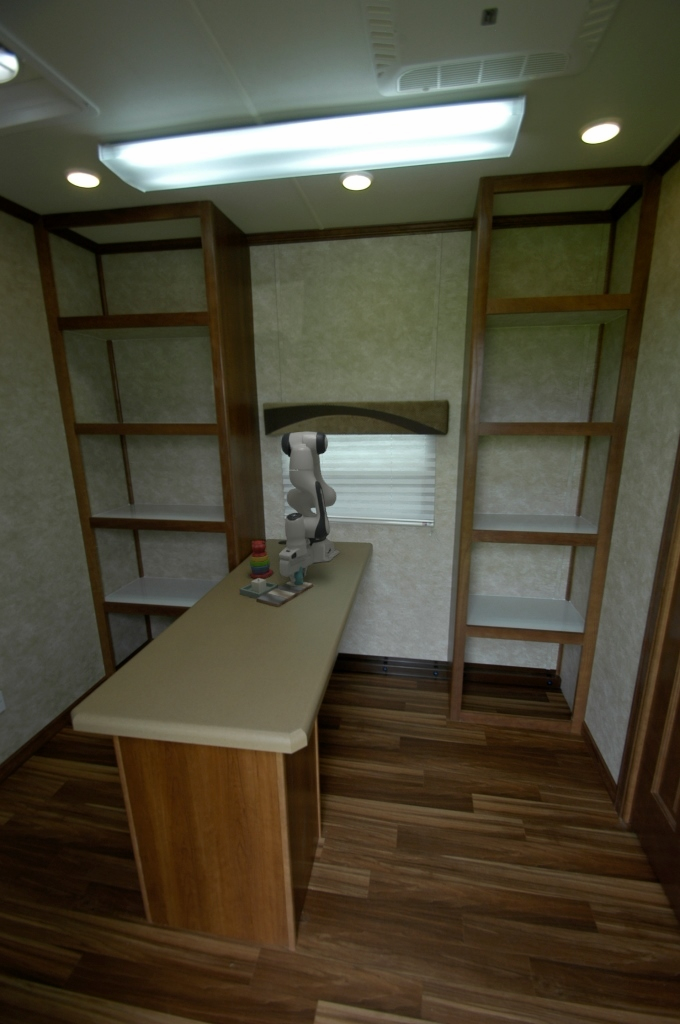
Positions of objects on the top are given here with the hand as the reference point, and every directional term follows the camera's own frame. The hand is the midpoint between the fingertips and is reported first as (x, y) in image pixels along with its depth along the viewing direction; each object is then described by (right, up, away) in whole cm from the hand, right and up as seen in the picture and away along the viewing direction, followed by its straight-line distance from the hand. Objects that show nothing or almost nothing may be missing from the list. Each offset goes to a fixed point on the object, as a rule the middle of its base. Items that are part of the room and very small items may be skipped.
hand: (298, 579), depth 193 cm
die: (-17, -4, -4) cm, 18 cm away
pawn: (0, -2, 0) cm, 2 cm away
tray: (-17, -5, -3) cm, 18 cm away
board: (-5, -5, -6) cm, 10 cm away
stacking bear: (-20, -1, +16) cm, 25 cm away
